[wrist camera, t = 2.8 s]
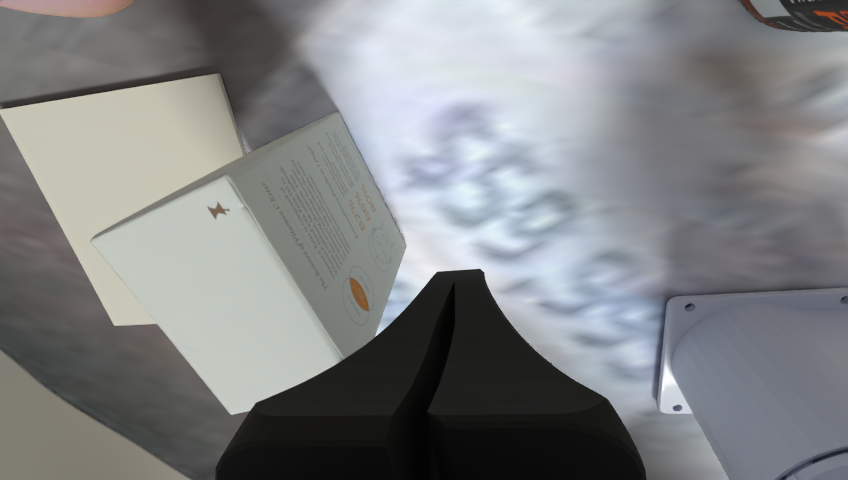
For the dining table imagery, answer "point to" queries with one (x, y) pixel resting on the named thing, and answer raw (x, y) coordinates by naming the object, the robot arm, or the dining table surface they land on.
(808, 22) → the supplement bottle
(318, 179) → the small box
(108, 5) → the decorative fruit
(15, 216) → the dining table surface
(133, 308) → the mat
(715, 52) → the dining table surface
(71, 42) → the dining table surface
